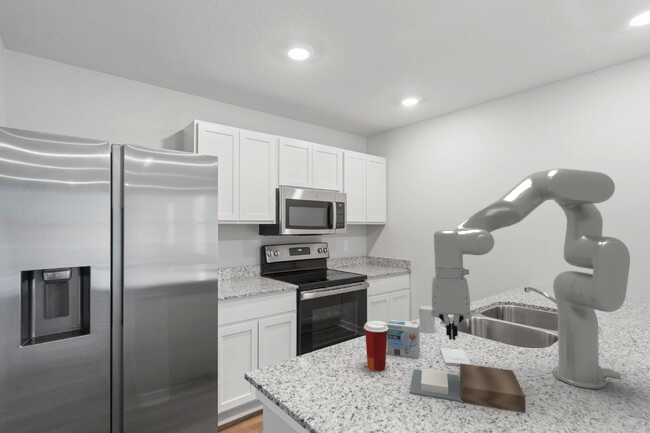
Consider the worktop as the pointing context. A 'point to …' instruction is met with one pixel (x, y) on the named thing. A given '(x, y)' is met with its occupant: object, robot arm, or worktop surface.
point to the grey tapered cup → (426, 319)
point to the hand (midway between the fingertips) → (452, 338)
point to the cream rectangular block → (434, 381)
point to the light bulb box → (403, 338)
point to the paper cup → (376, 345)
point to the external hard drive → (454, 357)
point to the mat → (452, 393)
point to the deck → (491, 387)
